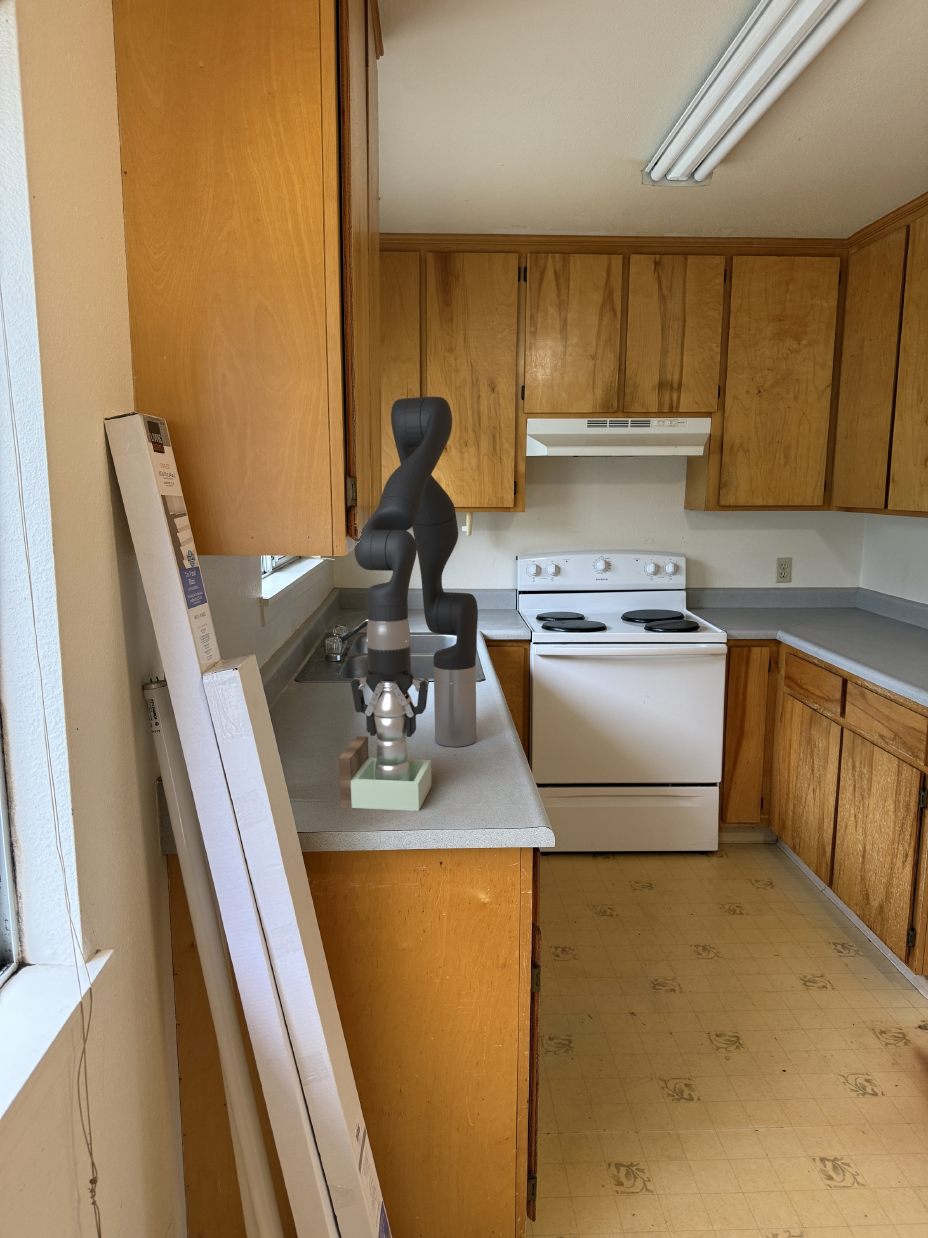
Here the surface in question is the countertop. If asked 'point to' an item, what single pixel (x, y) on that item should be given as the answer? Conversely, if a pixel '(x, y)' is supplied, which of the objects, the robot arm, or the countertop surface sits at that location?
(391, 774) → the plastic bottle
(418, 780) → the socket block
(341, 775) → the backstop
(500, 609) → the countertop surface
